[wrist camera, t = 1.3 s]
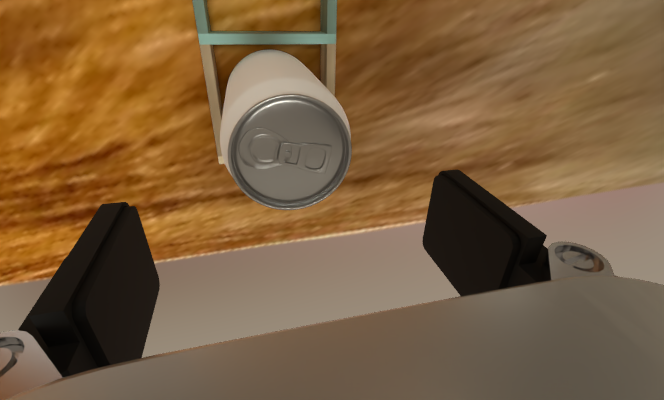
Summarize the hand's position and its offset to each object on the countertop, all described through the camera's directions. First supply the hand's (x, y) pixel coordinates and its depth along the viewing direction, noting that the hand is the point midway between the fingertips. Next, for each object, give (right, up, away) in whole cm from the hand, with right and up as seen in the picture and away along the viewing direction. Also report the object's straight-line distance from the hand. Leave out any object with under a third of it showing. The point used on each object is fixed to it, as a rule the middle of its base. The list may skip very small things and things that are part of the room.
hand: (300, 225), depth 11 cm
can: (-3, +9, +15) cm, 18 cm away
